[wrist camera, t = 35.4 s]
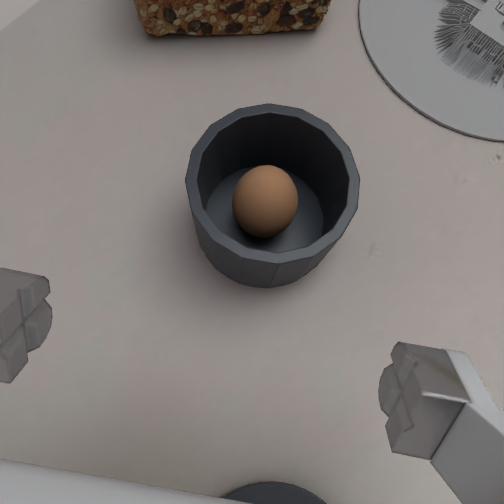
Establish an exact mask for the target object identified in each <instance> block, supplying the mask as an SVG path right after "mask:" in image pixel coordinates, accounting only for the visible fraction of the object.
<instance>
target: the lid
mask: <svg viewBox="0 0 504 504" xmlns="http://www.w3.org/2000/svg"><path fill="white" fill-rule="evenodd" d="M222 498H223V499H229V500H235V501H240V502H246V503H251V504H326V503H325V502H324V501H323V500H321V499H320V498H319V497H317V496H316V495H314V494H313V493H311V492H309V491H307V490H305V489H303V488H300V487H298V486H295V485H292V484H287V483H283V482H258V483H254V484H249V485H246V486H243V487H240V488H238V489H236V490H234V491H232V492H230V493H228V494H226V495H225V496H223V497H222Z"/></svg>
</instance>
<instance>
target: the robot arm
mask: <svg viewBox="0 0 504 504" xmlns="http://www.w3.org/2000/svg"><path fill="white" fill-rule="evenodd" d="M49 293H50V286H49V280H48V279H47V278H46V277H45V276H40V275H35V274H30V273H26V272H21V271H16V270H11V269H6V268H0V382H4V383H11V382H12V381H13V380H14V378H15V377H16V376H17V375H18V374H19V372H20V371H21V370H22V369H23V367H24V366H25V365H26V364H27V362H28V355H27V353H28V352H30V351H32V350H35V349H37V348H39V347H40V346H41V344H42V343H43V342H44V340H45V339H46V337H47V335H48V333H49V330H50V328H51V323H52V308H51V306H50V305H49V304H48V303H47V301H46V300H45V298H46V297H47V296H48V294H49ZM390 355H391V358H392V361H393V363H392V364H391V365H389V366H388V367H386V368H384V370H383V373H382V375H381V378H380V382H379V390H378V394H379V403H380V407H381V410H382V411H383V412H384V413H385V414H386V415H387V416H388V417H389V419H388V421H387V423H386V425H385V427H386V431H387V435H388V439H389V443H390V447H391V451H392V452H393V453H398V454H402V455H407V456H412V457H417V458H422V459H426V460H431V461H430V463H431V464H432V465H433V467H434V468H435V469H436V471H437V472H438V473H439V474H440V476H441V477H442V478H443V480H444V481H445V482H446V483H447V485H448V486H449V487H450V488H451V490H452V491H453V492H454V494H455V495H456V496H457V497H458V499H459V500H460V501H461V503H462V504H504V409H500V408H498V407H497V405H496V403H495V401H494V400H493V398H492V396H491V394H490V393H489V391H488V389H487V387H486V386H485V384H484V382H483V380H482V379H481V377H480V375H479V373H478V371H477V370H476V368H475V366H474V364H473V363H472V361H471V359H470V357H469V356H468V355H467V354H466V353H464V352H461V351H454V350H448V349H437V348H431V347H426V346H420V345H415V344H409V343H403V342H398V343H397V344H396V345H395V346H394V348H393V350H392V352H391V354H390ZM0 504H251V503H246V502H240V501H235V500H229V499H223V498H218V497H212V496H207V495H201V494H195V493H190V492H184V491H179V490H173V489H168V488H162V487H156V486H151V485H145V484H140V483H134V482H128V481H123V480H117V479H112V478H106V477H100V476H95V475H89V474H84V473H78V472H72V471H67V470H61V469H56V468H50V467H44V466H39V465H33V464H28V463H22V462H16V461H11V460H5V459H0Z"/></svg>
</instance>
